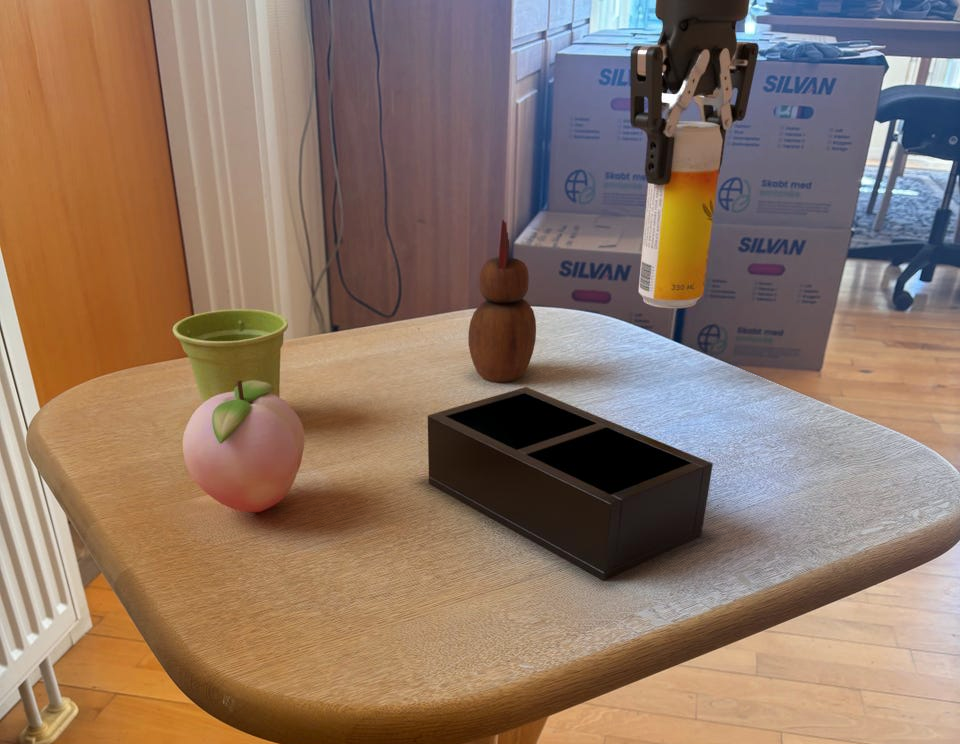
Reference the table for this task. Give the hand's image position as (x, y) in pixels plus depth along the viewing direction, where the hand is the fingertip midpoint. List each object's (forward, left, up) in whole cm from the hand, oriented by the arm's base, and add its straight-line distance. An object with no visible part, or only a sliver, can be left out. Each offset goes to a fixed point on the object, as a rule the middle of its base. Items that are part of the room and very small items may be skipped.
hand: (682, 179), depth 87 cm
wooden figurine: (+12, -10, -19) cm, 24 cm away
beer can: (0, 0, -11) cm, 11 cm away
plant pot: (+38, -15, -19) cm, 45 cm away
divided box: (+28, +15, -18) cm, 37 cm away
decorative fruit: (+46, +1, -19) cm, 50 cm away
